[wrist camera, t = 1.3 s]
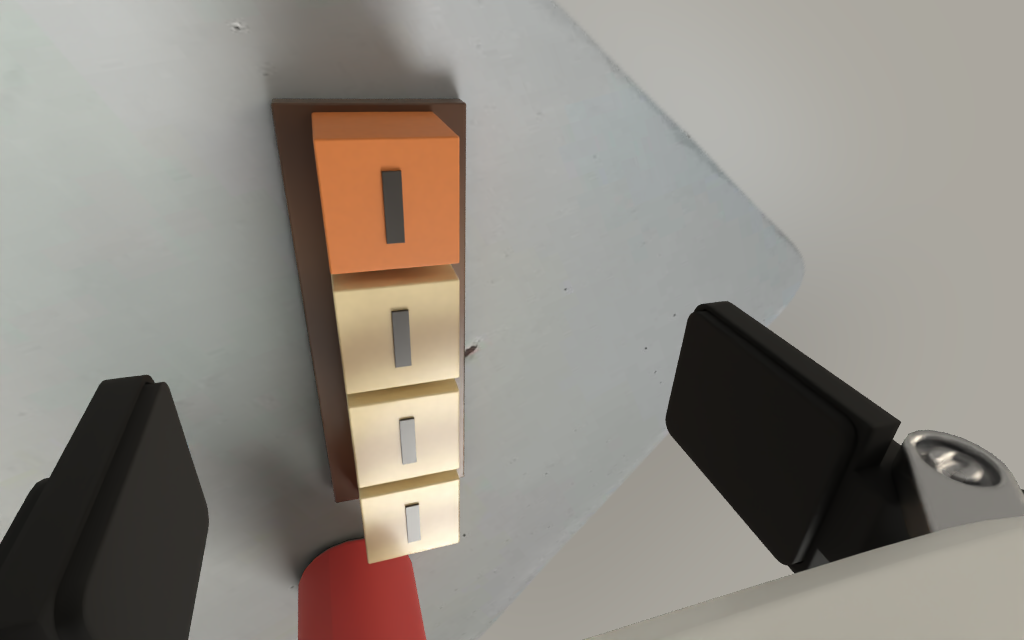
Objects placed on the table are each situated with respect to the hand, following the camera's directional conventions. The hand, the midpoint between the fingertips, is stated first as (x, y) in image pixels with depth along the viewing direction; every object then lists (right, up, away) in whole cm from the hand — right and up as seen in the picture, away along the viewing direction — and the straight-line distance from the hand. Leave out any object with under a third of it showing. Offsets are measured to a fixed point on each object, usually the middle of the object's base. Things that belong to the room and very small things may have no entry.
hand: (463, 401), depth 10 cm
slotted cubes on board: (-5, +1, +16) cm, 17 cm away
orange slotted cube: (-4, +7, +11) cm, 14 cm away
